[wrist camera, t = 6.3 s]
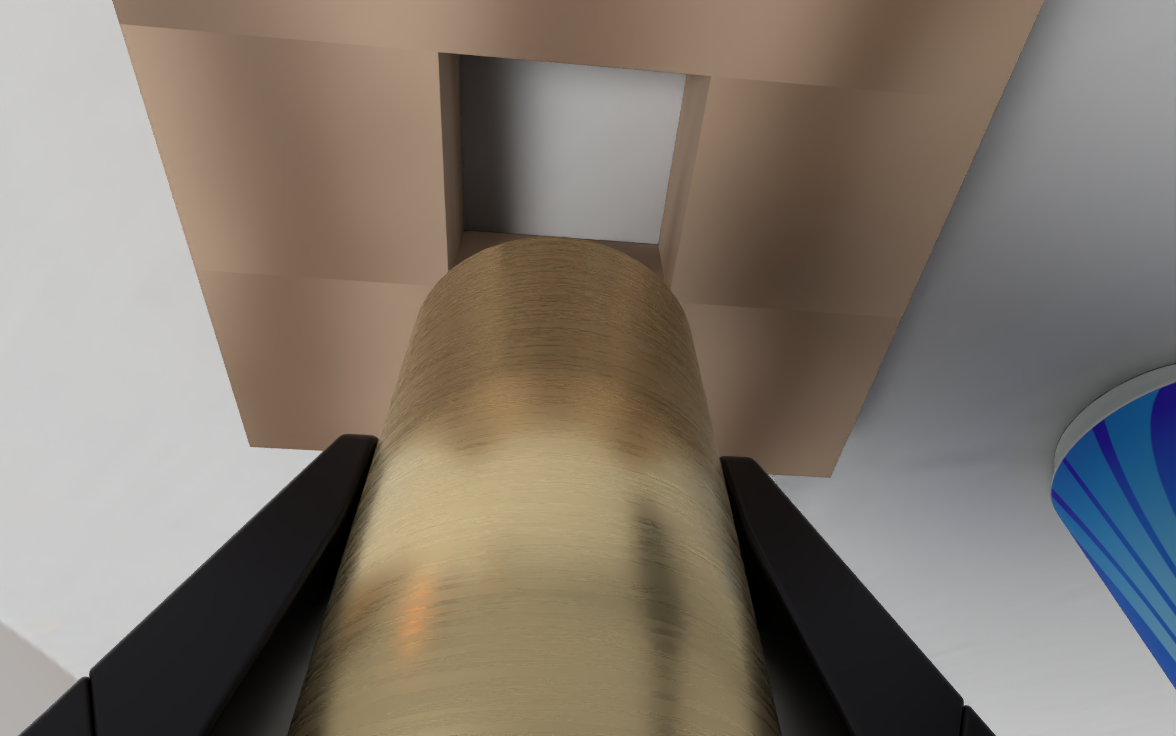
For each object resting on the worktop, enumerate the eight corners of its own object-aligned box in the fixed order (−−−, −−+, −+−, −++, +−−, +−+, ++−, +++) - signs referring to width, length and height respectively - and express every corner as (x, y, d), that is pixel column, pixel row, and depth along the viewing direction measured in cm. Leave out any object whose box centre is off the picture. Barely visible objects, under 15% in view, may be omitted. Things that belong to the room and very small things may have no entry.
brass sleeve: (720, 249, 9) (1065, 1282, 3) (667, 465, 11) (780, 1261, 5) (402, 224, 9) (-48, 1315, 2) (419, 451, 11) (219, 1278, 5)
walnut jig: (1073, -282, 13) (1179, -301, 11) (806, 413, 25) (830, 477, 22) (89, -404, 12) (-28, -453, 10) (282, 382, 23) (250, 446, 21)
